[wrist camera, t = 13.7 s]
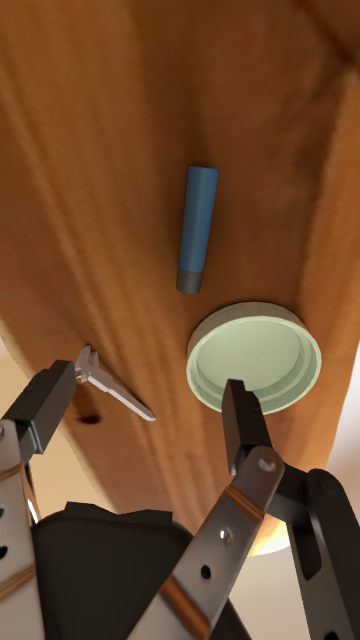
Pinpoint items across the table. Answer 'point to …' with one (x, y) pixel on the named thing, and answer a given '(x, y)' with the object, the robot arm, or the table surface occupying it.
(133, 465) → the table surface
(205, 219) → the marker
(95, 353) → the caliper
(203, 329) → the bowl
